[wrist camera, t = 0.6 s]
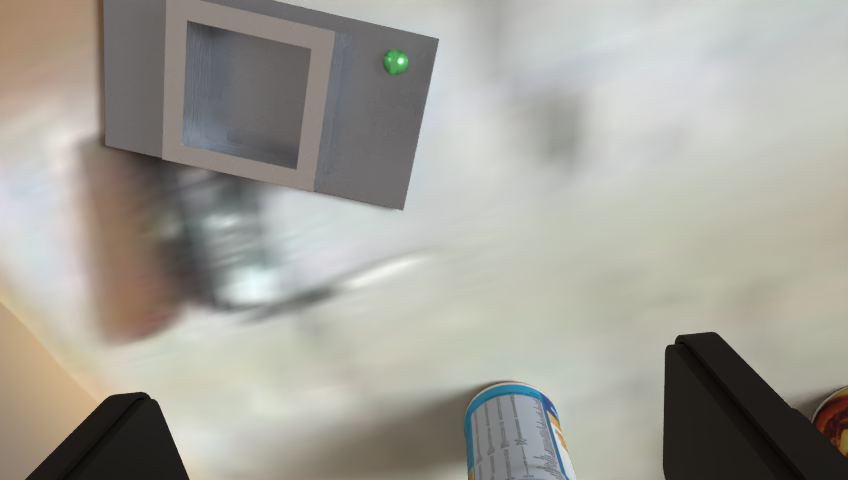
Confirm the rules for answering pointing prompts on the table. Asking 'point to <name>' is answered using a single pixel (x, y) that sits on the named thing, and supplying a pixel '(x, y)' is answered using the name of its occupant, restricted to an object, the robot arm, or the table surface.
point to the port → (268, 93)
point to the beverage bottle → (515, 436)
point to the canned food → (834, 419)
